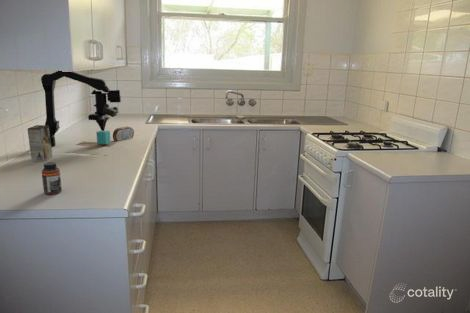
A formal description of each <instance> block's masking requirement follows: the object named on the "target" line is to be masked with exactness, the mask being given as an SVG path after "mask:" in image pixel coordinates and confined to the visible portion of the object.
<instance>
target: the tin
mask: <svg viewBox="0 0 470 313" xmlns="http://www.w3.org/2000/svg"><path fill="white" fill-rule="evenodd" d="M134 133H135V131H134V129H133V127H130V126H124V127H123V126H122V127H117V128H115V129H114V131H113V133H112V139H113V141H115V142H119V141H124V140H127V139H133V138H134V136H135V134H134Z"/></svg>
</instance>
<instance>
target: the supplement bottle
mask: <svg viewBox="0 0 470 313" xmlns="http://www.w3.org/2000/svg"><path fill="white" fill-rule="evenodd" d="M41 177H42V178H41V179H42V187H43V194H45V195H50V196H51V195H52V196H53V195H57V194H60V193H61V192H62V190H63V189H62V179H61V170H60V168H59V167H57V163H56V162H55V161H48V162H46V161H45V162H44V163H43V169H42V170H41Z"/></svg>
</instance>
